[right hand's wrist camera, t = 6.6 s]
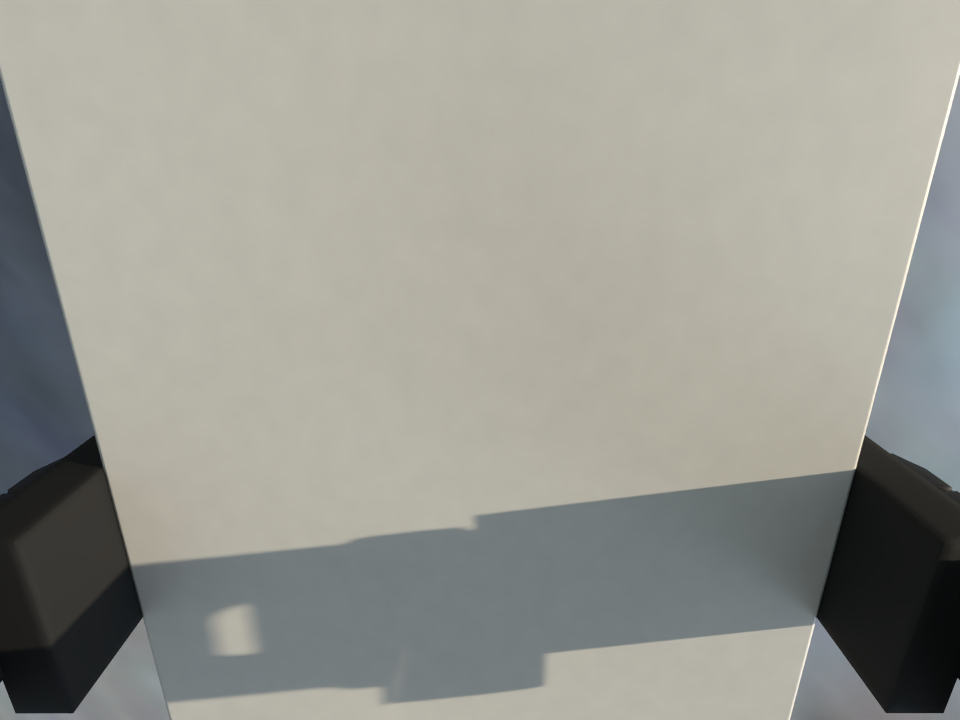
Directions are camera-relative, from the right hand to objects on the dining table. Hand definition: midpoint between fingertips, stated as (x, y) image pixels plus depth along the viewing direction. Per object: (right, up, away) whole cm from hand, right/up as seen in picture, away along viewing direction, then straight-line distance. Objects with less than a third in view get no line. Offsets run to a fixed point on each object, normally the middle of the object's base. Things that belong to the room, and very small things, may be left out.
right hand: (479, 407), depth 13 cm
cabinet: (0, +8, +3) cm, 9 cm away
